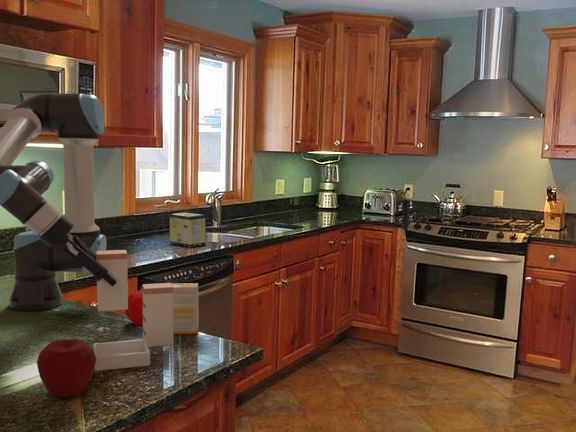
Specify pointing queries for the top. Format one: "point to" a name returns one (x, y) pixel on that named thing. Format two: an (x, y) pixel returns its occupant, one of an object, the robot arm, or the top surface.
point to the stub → (118, 267)
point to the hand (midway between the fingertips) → (123, 289)
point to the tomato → (135, 307)
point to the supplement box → (185, 308)
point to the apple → (66, 367)
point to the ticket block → (157, 314)
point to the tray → (121, 354)
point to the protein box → (187, 229)
